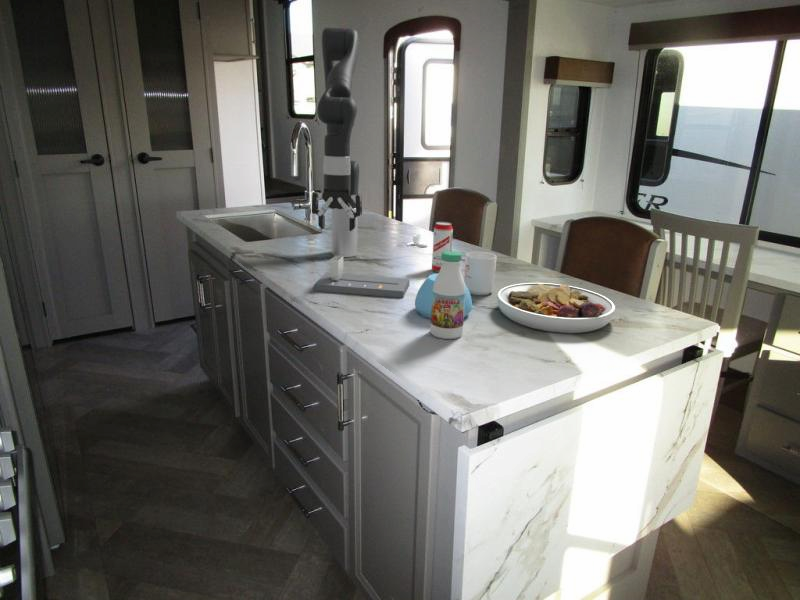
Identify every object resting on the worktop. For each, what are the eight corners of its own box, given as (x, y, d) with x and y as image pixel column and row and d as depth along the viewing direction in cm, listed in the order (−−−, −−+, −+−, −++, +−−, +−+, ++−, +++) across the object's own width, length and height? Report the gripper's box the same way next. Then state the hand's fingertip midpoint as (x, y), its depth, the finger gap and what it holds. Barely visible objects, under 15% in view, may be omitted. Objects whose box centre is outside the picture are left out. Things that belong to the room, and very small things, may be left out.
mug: (499, 294, 168) (502, 257, 165) (473, 297, 165) (476, 259, 161) (476, 283, 179) (479, 248, 175) (452, 285, 175) (454, 250, 171)
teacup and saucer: (430, 248, 223) (430, 238, 222) (410, 248, 221) (410, 238, 220) (423, 243, 231) (424, 233, 230) (404, 243, 229) (405, 233, 228)
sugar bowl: (429, 300, 161) (431, 260, 157) (479, 310, 154) (482, 269, 151) (404, 315, 148) (406, 272, 144) (458, 327, 141) (461, 282, 138)
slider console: (326, 278, 177) (326, 271, 176) (409, 285, 174) (409, 278, 173) (314, 290, 165) (314, 283, 164) (403, 298, 162) (403, 290, 161)
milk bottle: (428, 327, 140) (432, 248, 134) (459, 328, 141) (465, 248, 134) (432, 340, 133) (437, 256, 126) (465, 340, 133) (471, 256, 127)
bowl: (473, 307, 157) (475, 279, 155) (554, 294, 171) (557, 268, 169) (550, 346, 133) (554, 314, 130) (637, 327, 147) (642, 298, 144)
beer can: (449, 273, 188) (452, 225, 182) (430, 272, 189) (432, 224, 184) (451, 269, 193) (454, 222, 188) (432, 267, 195) (435, 220, 189)
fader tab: (335, 274, 173) (335, 255, 171) (343, 275, 172) (343, 255, 170) (330, 280, 167) (330, 259, 165) (338, 281, 167) (338, 260, 165)
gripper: (364, 172, 163) (363, 228, 168) (316, 170, 164) (316, 225, 169) (359, 175, 156) (358, 233, 161) (308, 172, 157) (309, 230, 162)
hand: (336, 229), depth 165 cm, fingers open, 8 cm apart
